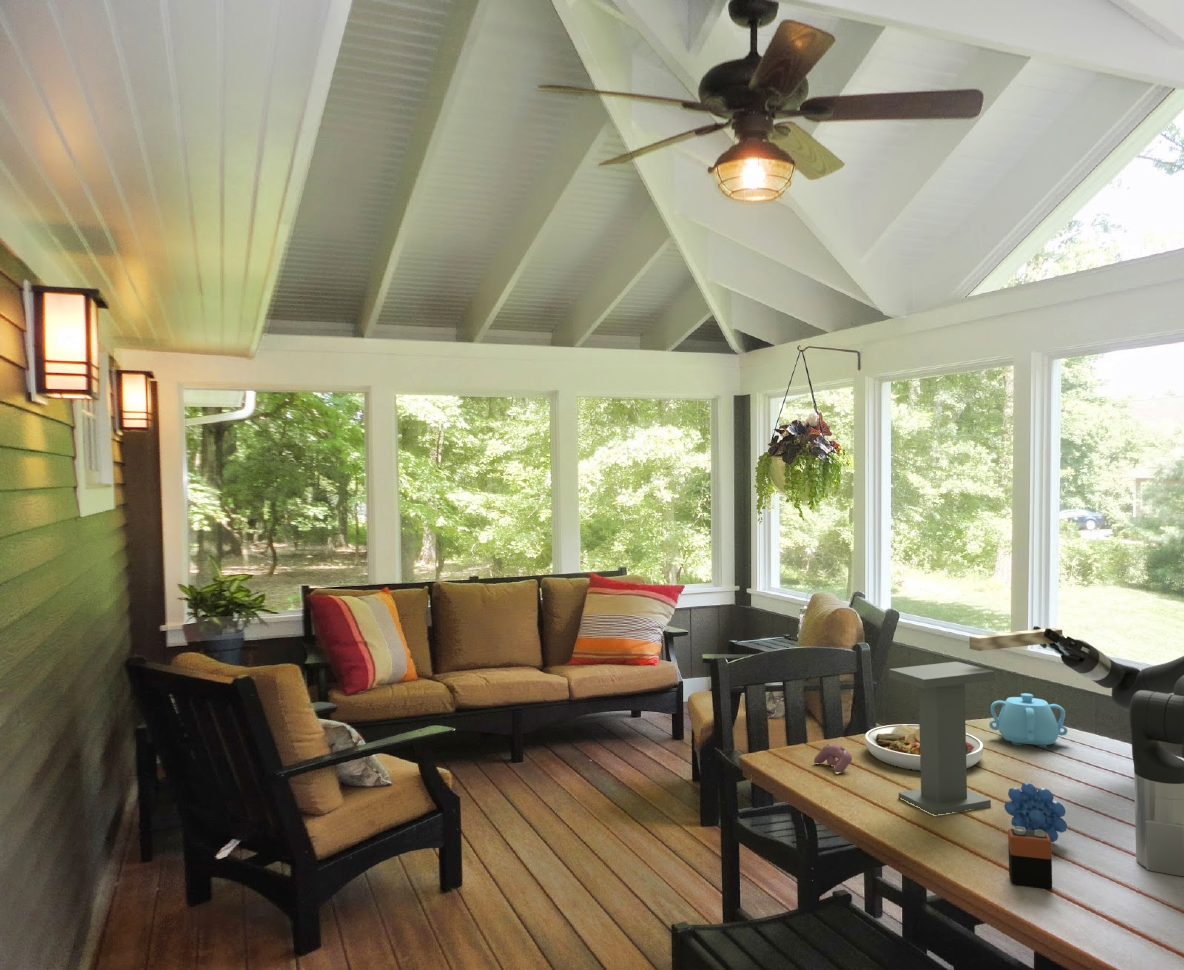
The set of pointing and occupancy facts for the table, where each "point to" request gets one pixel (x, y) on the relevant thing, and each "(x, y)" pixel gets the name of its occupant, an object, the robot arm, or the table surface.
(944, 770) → the plant stand
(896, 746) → the bowl
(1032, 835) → the battery
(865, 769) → the table surface
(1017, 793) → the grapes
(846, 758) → the video game controller
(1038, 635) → the birch rod
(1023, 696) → the decorative pot
